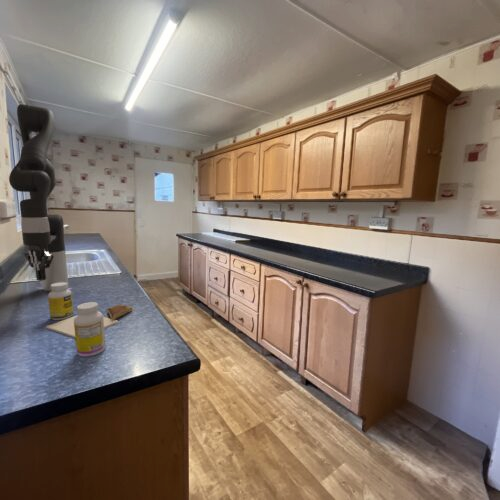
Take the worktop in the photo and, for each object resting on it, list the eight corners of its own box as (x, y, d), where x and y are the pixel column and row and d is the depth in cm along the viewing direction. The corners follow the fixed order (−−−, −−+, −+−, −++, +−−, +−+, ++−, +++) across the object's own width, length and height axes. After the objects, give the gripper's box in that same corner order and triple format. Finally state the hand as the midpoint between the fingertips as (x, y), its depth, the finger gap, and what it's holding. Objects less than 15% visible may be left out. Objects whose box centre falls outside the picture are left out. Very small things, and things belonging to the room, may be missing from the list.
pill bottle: (61, 321, 89) (58, 287, 87) (45, 319, 90) (41, 286, 89) (78, 314, 95) (75, 282, 94) (62, 312, 97) (59, 280, 95)
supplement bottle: (84, 344, 75) (81, 300, 73) (109, 344, 76) (106, 300, 74) (71, 358, 69) (66, 310, 66) (98, 357, 69) (95, 309, 67)
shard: (112, 321, 89) (112, 315, 89) (92, 318, 90) (92, 313, 90) (133, 311, 99) (133, 306, 99) (115, 308, 101) (115, 304, 101)
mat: (46, 328, 84) (46, 326, 84) (86, 313, 96) (86, 311, 96) (79, 339, 78) (79, 337, 78) (118, 322, 90) (118, 320, 89)
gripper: (12, 230, 92) (18, 280, 94) (35, 232, 86) (40, 285, 89) (37, 229, 98) (42, 275, 101) (59, 230, 93) (64, 279, 96)
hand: (41, 279), depth 95 cm, fingers closed
